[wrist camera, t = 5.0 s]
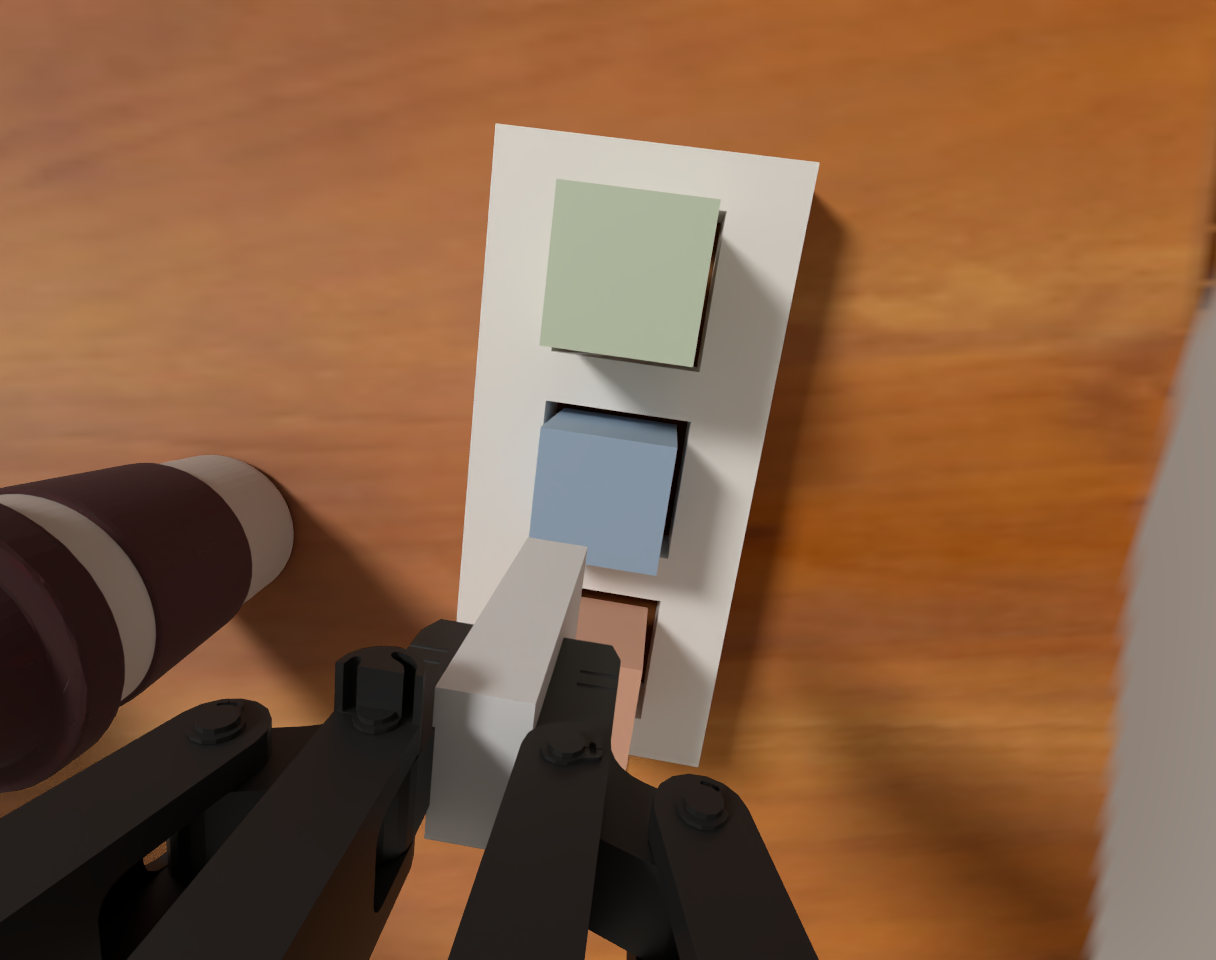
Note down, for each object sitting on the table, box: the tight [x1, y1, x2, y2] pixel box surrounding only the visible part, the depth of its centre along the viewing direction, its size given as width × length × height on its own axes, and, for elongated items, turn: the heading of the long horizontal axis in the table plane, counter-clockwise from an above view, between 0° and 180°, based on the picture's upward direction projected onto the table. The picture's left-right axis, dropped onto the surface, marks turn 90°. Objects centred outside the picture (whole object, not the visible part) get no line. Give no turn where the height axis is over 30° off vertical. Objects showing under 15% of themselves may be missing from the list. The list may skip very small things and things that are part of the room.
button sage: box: [539, 179, 721, 367], centre depth 22 cm, size 5×5×5 cm
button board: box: [457, 124, 819, 767], centre depth 28 cm, size 12×26×3 cm, turn 172°
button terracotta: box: [576, 597, 648, 771], centre depth 26 cm, size 5×5×5 cm
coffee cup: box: [0, 455, 294, 793], centre depth 25 cm, size 10×10×15 cm
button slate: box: [529, 408, 677, 576], centre depth 26 cm, size 5×5×5 cm
